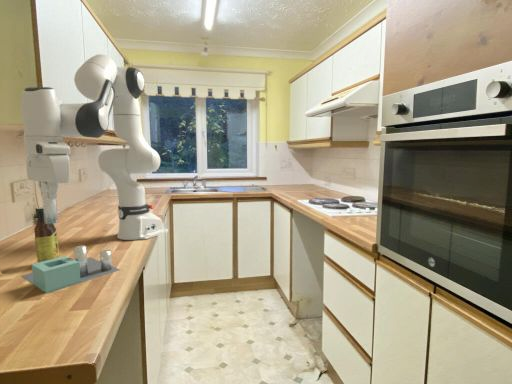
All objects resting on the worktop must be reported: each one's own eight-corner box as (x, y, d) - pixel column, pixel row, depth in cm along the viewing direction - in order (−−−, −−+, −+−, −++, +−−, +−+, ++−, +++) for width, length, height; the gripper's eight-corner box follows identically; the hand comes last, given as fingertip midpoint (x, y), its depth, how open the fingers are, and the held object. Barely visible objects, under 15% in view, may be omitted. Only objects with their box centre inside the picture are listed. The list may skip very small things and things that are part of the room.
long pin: (42, 222, 90) (38, 172, 88) (55, 220, 93) (51, 172, 91) (47, 224, 88) (42, 173, 86) (60, 222, 91) (55, 172, 89)
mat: (90, 258, 115) (90, 257, 115) (120, 271, 103) (120, 269, 103) (21, 277, 99) (20, 275, 98) (47, 295, 86) (46, 293, 86)
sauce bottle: (62, 265, 109) (57, 207, 106) (41, 270, 105) (35, 210, 102) (56, 260, 113) (51, 205, 111) (35, 265, 109) (29, 207, 106)
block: (67, 274, 99) (65, 255, 98) (80, 281, 94) (79, 262, 93) (33, 284, 92) (31, 264, 91) (46, 292, 87) (43, 271, 86)
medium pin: (85, 272, 101) (83, 244, 99) (90, 275, 99) (88, 246, 97) (74, 276, 98) (72, 247, 97) (79, 278, 96) (76, 249, 95)
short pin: (108, 266, 105) (107, 249, 105) (113, 269, 103) (112, 251, 103) (99, 269, 103) (97, 251, 102) (104, 272, 101) (102, 253, 100)
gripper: (17, 148, 92) (22, 196, 93) (46, 147, 79) (51, 202, 81) (42, 148, 97) (47, 193, 98) (73, 147, 84) (77, 199, 86)
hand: (49, 197), depth 89 cm, fingers closed on long pin, 3 cm apart
